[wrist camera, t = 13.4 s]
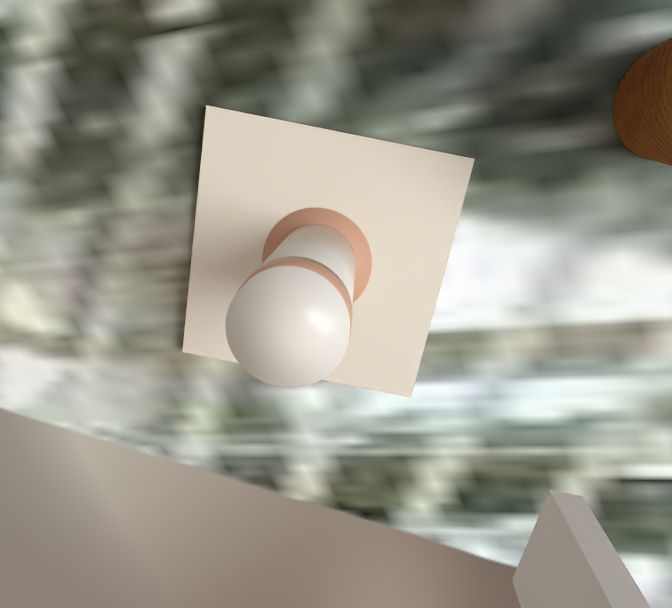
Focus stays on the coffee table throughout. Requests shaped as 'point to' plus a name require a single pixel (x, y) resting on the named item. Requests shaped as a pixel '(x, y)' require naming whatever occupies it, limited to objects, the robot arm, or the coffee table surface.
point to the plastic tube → (295, 309)
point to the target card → (332, 210)
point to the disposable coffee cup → (647, 105)
